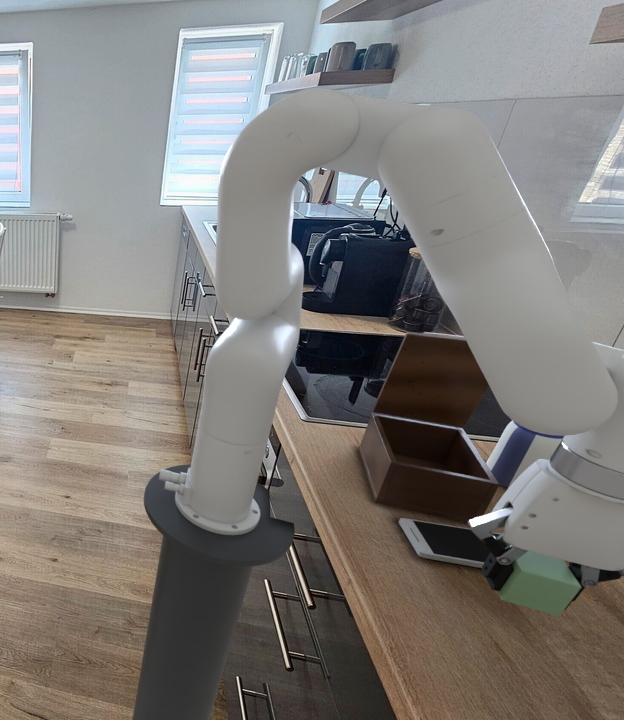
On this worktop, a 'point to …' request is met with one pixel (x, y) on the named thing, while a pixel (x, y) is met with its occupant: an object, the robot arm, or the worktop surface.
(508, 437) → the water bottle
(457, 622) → the worktop surface
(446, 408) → the chest lid
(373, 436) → the chest
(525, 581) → the block
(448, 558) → the smartphone
